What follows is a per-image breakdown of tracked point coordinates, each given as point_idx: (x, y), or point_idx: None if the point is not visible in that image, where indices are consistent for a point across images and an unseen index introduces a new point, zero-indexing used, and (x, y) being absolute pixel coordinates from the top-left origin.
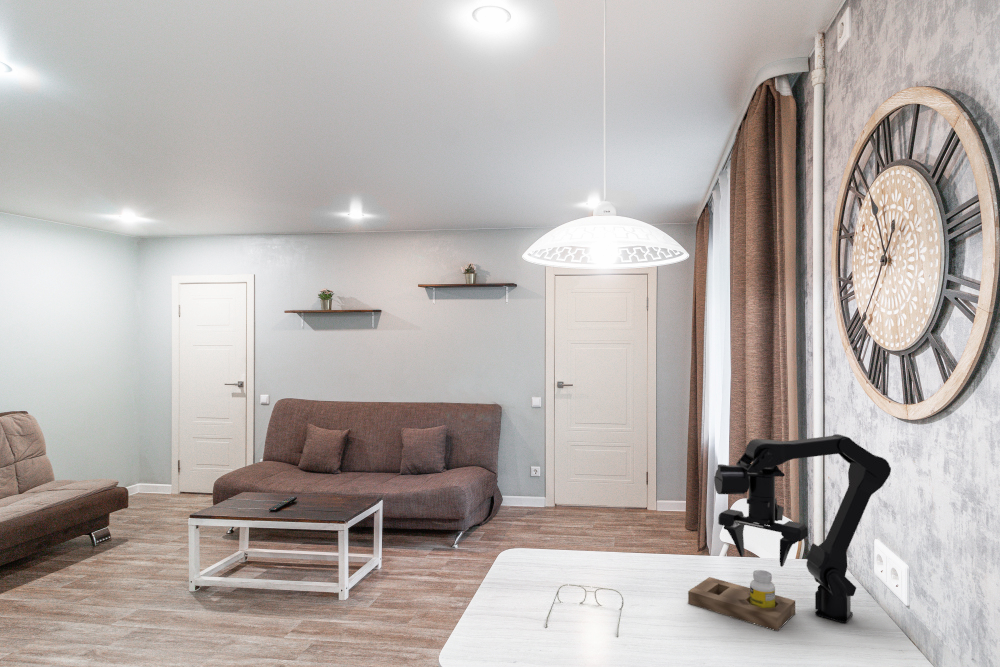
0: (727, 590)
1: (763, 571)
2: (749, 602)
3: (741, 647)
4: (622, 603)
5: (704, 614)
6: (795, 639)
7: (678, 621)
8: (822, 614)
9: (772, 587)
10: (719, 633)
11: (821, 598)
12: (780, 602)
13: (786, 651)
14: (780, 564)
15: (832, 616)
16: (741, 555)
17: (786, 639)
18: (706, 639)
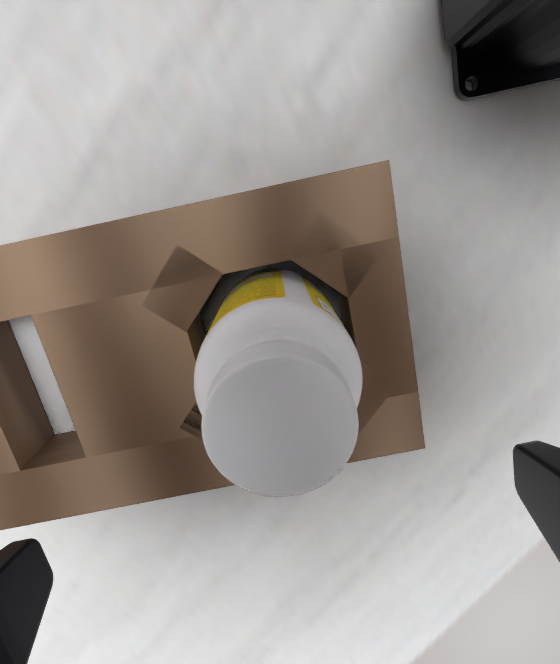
0: (63, 370)
1: (263, 390)
2: (196, 333)
3: (378, 609)
4: None
5: (127, 519)
6: (486, 419)
7: (120, 629)
8: (498, 81)
9: (359, 387)
10: (270, 591)
11: (535, 17)
12: (344, 267)
13: (499, 522)
14: (537, 518)
15: (554, 66)
16: (45, 598)
17: (461, 446)
18: (270, 650)
